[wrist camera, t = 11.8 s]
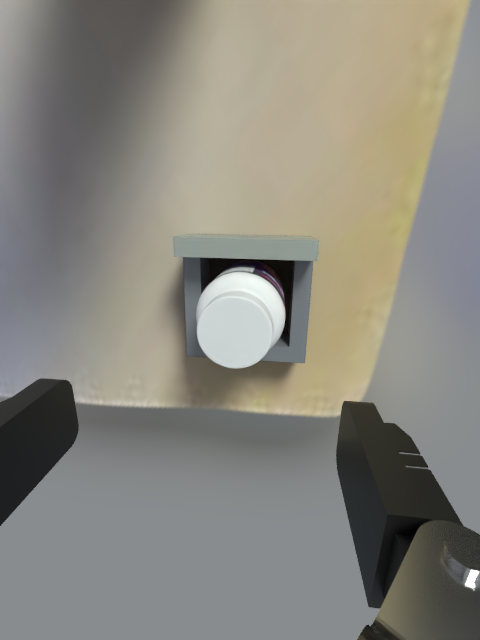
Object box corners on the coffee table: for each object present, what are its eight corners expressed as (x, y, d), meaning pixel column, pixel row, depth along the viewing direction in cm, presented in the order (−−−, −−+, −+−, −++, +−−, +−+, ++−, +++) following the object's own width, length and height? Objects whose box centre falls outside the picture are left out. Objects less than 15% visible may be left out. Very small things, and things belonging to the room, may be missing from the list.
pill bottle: (291, 315, 26) (298, 369, 17) (228, 331, 27) (202, 390, 18) (273, 249, 25) (270, 269, 15) (207, 269, 26) (167, 298, 16)
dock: (193, 233, 25) (173, 237, 20) (310, 236, 24) (318, 240, 19) (196, 341, 28) (179, 367, 23) (302, 347, 27) (307, 375, 22)
